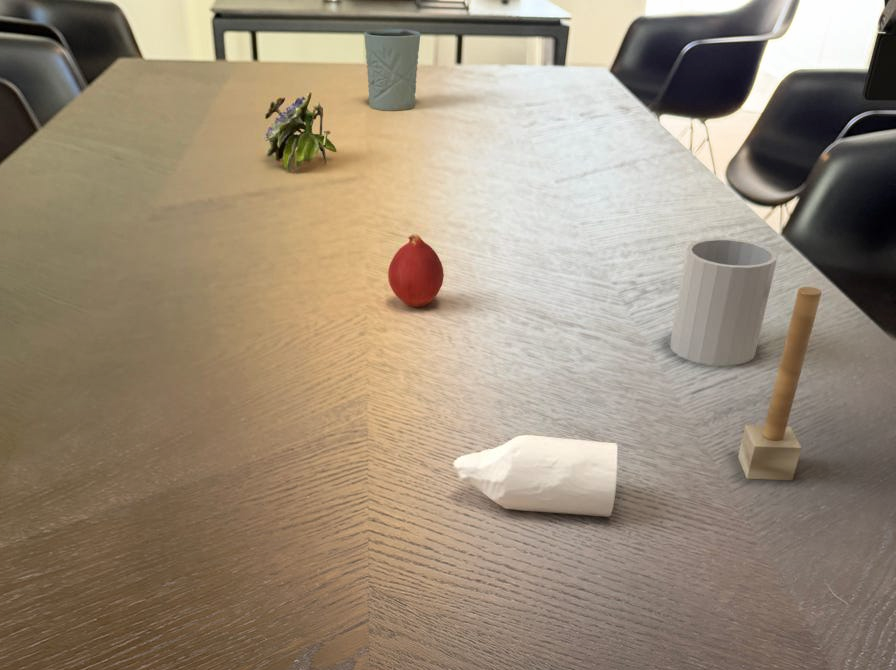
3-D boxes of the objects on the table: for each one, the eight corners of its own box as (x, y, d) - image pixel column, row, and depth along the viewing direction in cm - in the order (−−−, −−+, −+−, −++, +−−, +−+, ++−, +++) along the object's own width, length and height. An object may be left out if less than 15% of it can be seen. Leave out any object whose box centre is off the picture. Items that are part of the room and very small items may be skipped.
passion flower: (282, 196, 160) (275, 120, 160) (348, 185, 158) (341, 108, 158) (258, 169, 149) (250, 86, 149) (328, 156, 147) (321, 73, 147)
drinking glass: (358, 109, 186) (356, 34, 179) (376, 98, 194) (375, 26, 186) (409, 113, 184) (409, 37, 176) (426, 102, 191) (427, 29, 184)
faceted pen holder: (744, 339, 103) (766, 239, 96) (761, 373, 96) (786, 268, 90) (664, 337, 103) (680, 237, 97) (675, 370, 97) (694, 265, 90)
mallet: (780, 464, 82) (829, 282, 73) (790, 487, 80) (842, 300, 70) (736, 463, 82) (778, 281, 73) (745, 485, 80) (790, 298, 70)
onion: (407, 296, 112) (407, 221, 107) (452, 306, 109) (454, 230, 104) (379, 312, 108) (377, 236, 103) (425, 323, 105) (426, 245, 100)
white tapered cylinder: (456, 481, 80) (458, 416, 76) (607, 491, 79) (617, 426, 75) (448, 521, 75) (450, 454, 72) (609, 532, 74) (619, 465, 71)
